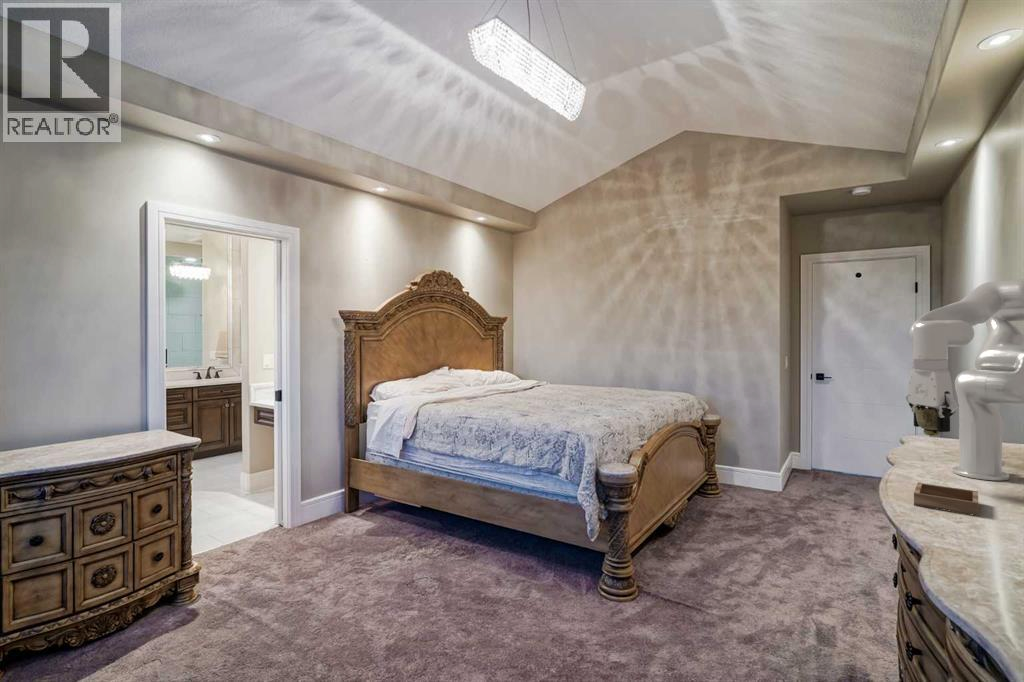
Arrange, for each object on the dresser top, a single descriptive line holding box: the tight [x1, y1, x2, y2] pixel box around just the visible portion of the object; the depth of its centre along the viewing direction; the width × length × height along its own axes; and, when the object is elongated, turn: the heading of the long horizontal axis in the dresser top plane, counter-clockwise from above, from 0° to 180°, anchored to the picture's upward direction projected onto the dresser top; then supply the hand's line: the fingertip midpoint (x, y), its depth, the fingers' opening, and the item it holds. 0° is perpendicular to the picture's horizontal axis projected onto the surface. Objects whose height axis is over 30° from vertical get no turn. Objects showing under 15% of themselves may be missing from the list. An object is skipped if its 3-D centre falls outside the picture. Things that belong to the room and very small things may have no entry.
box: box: [913, 482, 979, 516], centre depth 129 cm, size 12×12×3 cm
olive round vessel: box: [914, 405, 946, 437], centre depth 144 cm, size 8×7×8 cm
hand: (931, 428), depth 144 cm, fingers closed on olive round vessel, 7 cm apart
